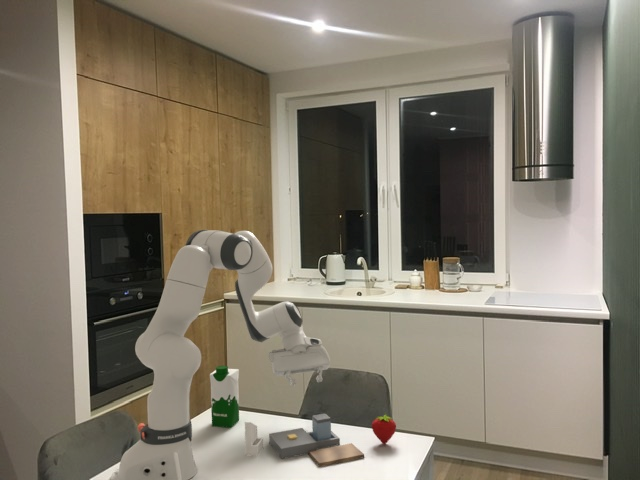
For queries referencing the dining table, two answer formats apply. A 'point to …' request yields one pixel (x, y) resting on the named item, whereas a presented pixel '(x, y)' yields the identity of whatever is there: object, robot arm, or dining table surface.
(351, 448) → the walnut pad
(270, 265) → the robot arm
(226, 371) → the milk carton
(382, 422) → the strawberry
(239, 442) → the dining table surface
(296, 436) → the grey socket base
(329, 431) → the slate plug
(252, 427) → the white slotted stand
